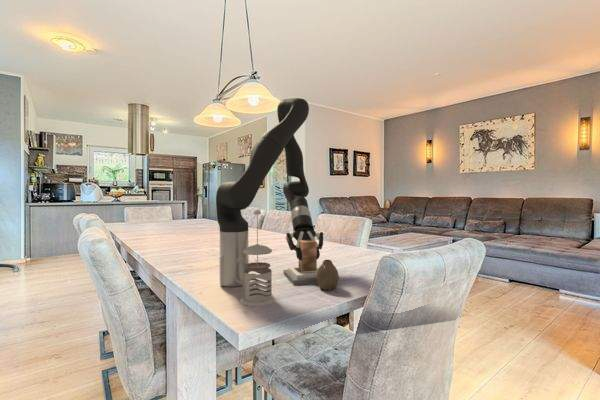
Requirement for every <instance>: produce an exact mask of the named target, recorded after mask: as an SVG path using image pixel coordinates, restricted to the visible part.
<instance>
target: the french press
mask: <svg viewBox="0 0 600 400" xmlns="http://www.w3.org/2000/svg"><path fill="white" fill-rule="evenodd" d="M253 214H254V215H256V244H254V245H250V246H249V247H247V248H246V249H244V250H243V253H244V254H248V255H249V256H256V261H255V262H249V263H248V264H246V265H245V268H247V269H245V270H244V283H243V282H241V281H239V280H237V279H236V277H235V267H234V265H235V266H236V264H237V263H238V261H239V260H241V259H242V258H243V262H245V258H244V257H243V256H241V257H242V258H241V257H239V258H241V259H239V258H238V259H239V260H238V259H237V260H238V261H237V260H236V261H237V262H236V261H235V263H236V264H235V263H234V265H233V275H234V278H235V279H236V281H237V282H239V283H240V282H241V283H240V284H243V285H242V297H241V298H240V299H239V303H241V305H243V304H244V305H245V306H247V307H248V306H249V307H263V306H269V305H271V304H273V303H274V302H275V301H276V297H275V296H274V295H273V294H272V291H273V290H272V287H273V286H272V284H273V283H272V282H273V281H272V277H273V275H272V274H273V273H272V269H271V268H270V267H271V264H270V263H269V262H259V256H262V255H269V254H271V253H272V252H273V250H272V249H271V248H270V247H268V246H267V245H262V244H259V237H258V236H259V235H258V234H259V231H258V229H259V228H258V227H259V226H258V225H259V222H258V221H259V220H258V219H259V218H258V216H259V215H261V214H262V213H261V210H259V209H256V210H255V211H253ZM252 272H253V273H252ZM247 273H249V274H247ZM256 273H257V274H256Z"/></svg>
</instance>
